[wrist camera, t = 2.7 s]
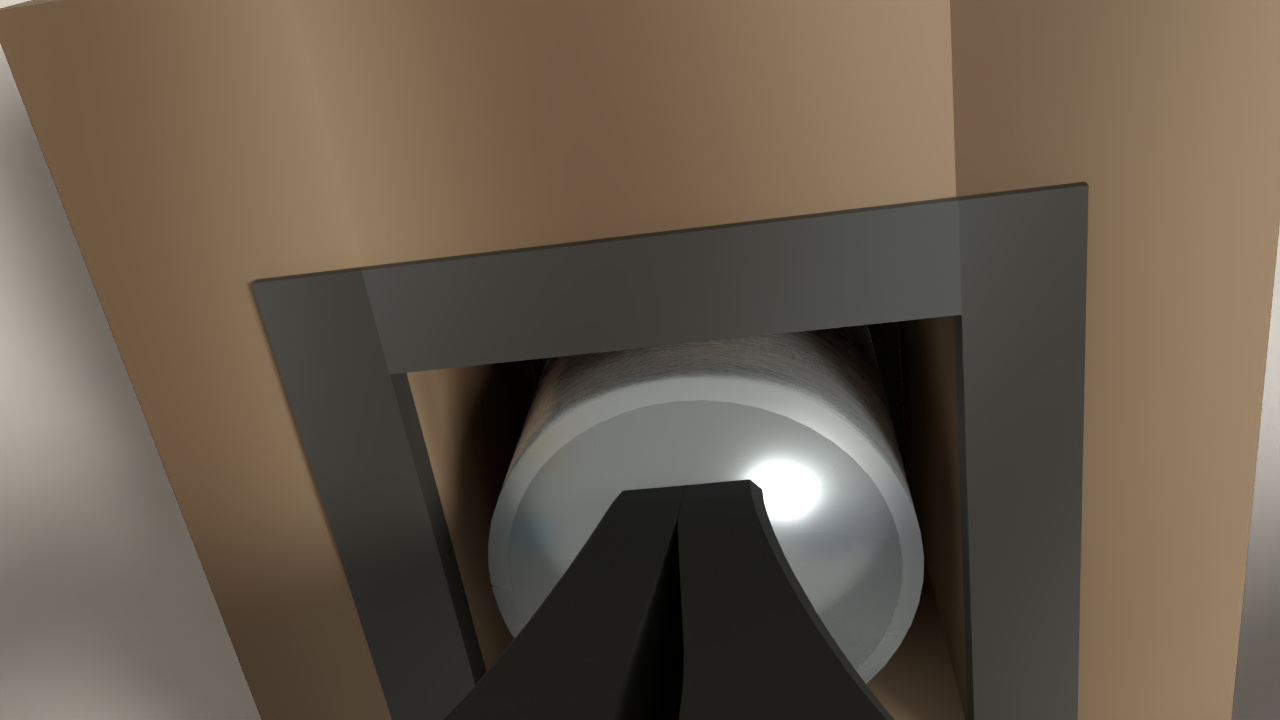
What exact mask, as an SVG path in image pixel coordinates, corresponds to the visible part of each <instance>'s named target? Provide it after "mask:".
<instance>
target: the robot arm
mask: <svg viewBox="0 0 1280 720" xmlns="http://www.w3.org/2000/svg"><path fill="white" fill-rule="evenodd" d="M443 720H894V718H893V717H892V716H891V715H890V714H889V712H888V711H887V710H886V709H885V708H884V706H883V705H882V704H881V703H880V701H879V700H878V699H877V698H876V696H875V695H874V694H873V693H872V691H871V690H870V689H869V687H868V686H867V685H866V683H865V682H864V681H863V679H862V678H861V677H860V675H859V674H858V673H857V671H856V670H855V669H854V667H853V666H852V665H851V663H850V662H849V660H848V659H847V657H846V656H845V654H844V653H843V652H842V650H841V649H840V647H839V646H838V644H837V643H836V642H835V640H834V639H833V637H832V636H831V634H830V633H829V631H828V630H827V628H826V626H825V625H824V623H823V622H822V620H821V619H820V617H819V616H818V614H817V612H816V611H815V609H814V607H813V606H812V604H811V602H810V600H809V599H808V597H807V595H806V593H805V592H804V590H803V588H802V586H801V585H800V583H799V581H798V579H797V578H796V576H795V574H794V573H793V571H792V569H791V567H790V565H789V563H788V561H787V559H786V557H785V555H784V553H783V551H782V548H781V546H780V544H779V542H778V539H777V537H776V535H775V533H774V530H773V528H772V525H771V522H770V520H769V517H768V514H767V511H766V507H765V503H764V496H763V489H762V488H760V487H759V486H758V485H757V484H755V483H754V482H753V481H751V480H750V479H747V480H737V481H726V482H715V483H705V484H693V485H686V486H685V485H682V486H671V487H659V488H648V489H636V490H624V491H622V492H621V493H620V494H619V495H618V497H617V498H616V499H615V500H614V501H613V502H612V504H611V505H610V507H609V508H608V510H607V511H606V513H605V515H604V516H603V518H602V519H601V521H600V522H599V524H598V525H597V527H596V528H595V530H594V531H593V533H592V534H591V536H590V537H589V539H588V540H587V542H586V543H585V545H584V546H583V547H582V549H581V550H580V552H579V553H578V555H577V556H576V558H575V559H574V560H573V562H572V563H571V565H570V566H569V568H568V569H567V570H566V572H565V573H564V575H563V576H562V577H561V579H560V580H559V581H558V583H557V584H556V585H555V587H554V588H553V589H552V591H551V592H550V593H549V595H548V596H547V597H546V599H545V600H544V601H543V603H542V604H541V605H540V607H539V608H538V610H537V611H536V612H535V614H534V615H533V616H532V618H531V619H530V620H529V621H528V623H527V624H526V625H525V626H524V628H523V629H522V630H521V632H520V633H519V634H518V635H517V636H516V637H515V639H514V640H513V641H512V642H511V643H510V645H509V646H508V647H507V648H506V649H505V651H504V652H503V653H502V654H501V655H500V656H499V658H498V659H497V660H496V661H495V662H494V664H493V665H492V666H491V667H490V668H489V669H488V671H487V672H486V673H485V674H484V675H483V677H482V678H481V679H480V680H479V681H478V682H477V684H476V685H475V686H474V687H473V688H472V689H471V690H470V691H469V693H468V694H467V695H466V696H465V697H464V698H463V699H462V700H461V701H460V702H459V703H458V704H457V705H456V707H455V708H454V709H453V710H452V711H451V712H450V713H449V714H448V715H447V716H446V717H445V718H444V719H443Z"/></svg>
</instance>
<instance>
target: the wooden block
mask: <svg viewBox="0 0 1280 720" xmlns="http://www.w3.org/2000/svg"><path fill="white" fill-rule="evenodd" d="M0 43H1V46H2V48H3V51H4V54H5V56H6V59H7V61H8V64H9V67H10V69H11V72H12V74H13V77H14V79H15V82H16V85H17V87H18V90H19V92H20V95H21V98H22V100H23V103H24V105H25V108H26V111H27V113H28V116H29V118H30V121H31V124H32V126H33V129H34V131H35V134H36V136H37V139H38V142H39V144H40V147H41V149H42V152H43V155H44V157H45V160H46V162H47V165H48V168H49V170H50V173H51V175H52V178H53V180H54V183H55V186H56V188H57V191H58V193H59V196H60V199H61V201H62V204H63V206H64V209H65V212H66V214H67V217H68V219H69V222H70V224H71V227H72V230H73V232H74V235H75V237H76V240H77V243H78V245H79V248H80V250H81V253H82V256H83V258H84V261H85V263H86V266H87V269H88V271H89V274H90V276H91V279H92V281H93V284H94V287H95V289H96V292H97V294H98V297H99V300H100V302H101V305H102V307H103V310H104V313H105V315H106V318H107V320H108V323H109V325H110V328H111V331H112V333H113V336H114V338H115V341H116V344H117V346H118V349H119V351H120V354H121V357H122V359H123V362H124V364H125V367H126V370H127V372H128V375H129V377H130V380H131V382H132V385H133V388H134V390H135V393H136V395H137V398H138V401H139V403H140V406H141V408H142V411H143V414H144V416H145V419H146V421H147V424H148V426H149V429H150V432H151V434H152V437H153V439H154V442H155V445H156V447H157V450H158V452H159V455H160V458H161V460H162V463H163V465H164V468H165V470H166V473H167V476H168V478H169V481H170V483H171V486H172V489H173V491H174V494H175V496H176V499H177V502H178V504H179V507H180V509H181V512H182V515H183V517H184V520H185V522H186V525H187V527H188V530H189V533H190V535H191V538H192V540H193V543H194V546H195V548H196V551H197V553H198V556H199V559H200V561H201V564H202V566H203V569H204V571H205V574H206V577H207V579H208V582H209V584H210V587H211V590H212V592H213V595H214V597H215V600H216V603H217V605H218V608H219V610H220V613H221V615H222V618H223V621H224V623H225V626H226V628H227V631H228V634H229V636H230V639H231V641H232V644H233V647H234V649H235V652H236V654H237V657H238V660H239V662H240V665H241V667H242V670H243V672H244V675H245V678H246V680H247V683H248V685H249V688H250V691H251V693H252V696H253V698H254V701H255V704H256V706H257V709H258V711H259V714H260V716H261V719H262V720H443V719H444V718H445V717H446V716H447V715H448V714H449V713H450V712H451V711H452V710H453V709H454V708H455V707H456V705H457V704H458V703H459V702H460V701H461V700H462V699H463V698H464V697H465V696H466V695H467V694H468V693H469V691H470V690H471V689H472V688H473V687H474V686H475V685H476V684H477V682H478V681H479V680H480V679H481V678H482V677H483V675H484V674H485V673H486V672H487V671H488V669H489V668H490V667H491V666H492V665H493V664H494V662H495V661H496V660H497V659H498V658H499V656H500V655H501V654H502V653H503V652H504V651H505V649H506V648H507V647H508V646H509V645H510V643H511V642H512V641H513V640H514V637H513V636H512V634H511V633H510V631H509V629H508V627H507V625H506V623H505V621H504V619H503V617H502V615H501V613H500V611H499V608H498V605H497V602H496V599H495V596H494V593H493V590H492V584H491V579H490V573H489V567H488V541H489V534H490V527H491V521H492V517H493V514H494V511H495V508H496V505H497V501H498V498H499V495H500V492H501V489H502V487H503V484H504V481H505V478H506V475H507V472H508V469H509V466H510V464H511V461H512V458H513V455H514V452H515V449H516V446H517V443H518V441H519V438H520V435H521V432H522V429H523V426H524V423H525V420H526V417H527V415H528V412H529V409H530V406H531V403H532V400H533V397H534V394H535V392H536V389H537V386H538V383H537V378H536V373H535V368H534V364H533V359H542V358H551V357H561V356H571V355H580V354H590V353H599V352H609V351H619V350H628V349H638V348H647V347H657V346H667V345H676V344H686V343H695V342H705V341H715V340H724V339H734V338H743V337H753V336H763V335H772V334H782V333H792V332H801V331H811V330H820V329H830V328H840V327H849V326H859V325H868V324H878V323H888V322H897V321H898V331H899V349H900V366H901V383H902V401H903V418H904V436H905V453H906V471H907V481H908V485H909V489H910V493H911V497H912V500H913V504H914V508H915V512H916V516H917V520H918V524H919V528H920V532H921V538H922V546H923V553H924V573H923V585H922V590H921V595H920V600H919V604H918V607H917V610H916V613H915V615H914V618H913V621H912V624H911V626H910V628H909V630H908V632H907V633H906V635H905V637H904V639H903V641H902V642H901V644H900V646H899V647H898V649H897V650H896V651H895V653H894V654H893V655H892V657H891V658H890V659H889V661H888V662H887V663H886V665H885V666H884V667H883V668H882V669H881V670H880V671H879V672H878V673H877V674H876V675H875V676H874V677H873V678H872V679H871V680H870V681H869V682H868V683H867V684H866V685H867V686H868V687H869V689H870V690H871V691H872V693H873V694H874V695H875V696H876V698H877V699H878V700H879V701H880V703H881V704H882V705H883V706H884V708H885V709H886V710H887V711H888V712H889V714H890V715H891V716H892V717H893V718H894V720H1231V718H1232V708H1233V697H1234V687H1235V677H1236V667H1237V656H1238V646H1239V636H1240V626H1241V615H1242V605H1243V595H1244V585H1245V574H1246V564H1247V554H1248V544H1249V533H1250V523H1251V513H1252V503H1253V492H1254V482H1255V472H1256V461H1257V451H1258V441H1259V431H1260V420H1261V410H1262V400H1263V390H1264V379H1265V369H1266V359H1267V349H1268V338H1269V328H1270V318H1271V308H1272V297H1273V287H1274V277H1275V267H1276V256H1277V246H1278V236H1279V226H1280V0H31V1H27V2H23V3H20V4H16V5H12V6H8V7H5V8H1V9H0Z"/></svg>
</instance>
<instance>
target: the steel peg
mask: <svg viewBox="0 0 1280 720" xmlns="http://www.w3.org/2000/svg"><path fill="white" fill-rule="evenodd" d="M747 479H750V480H751V481H753V482H754V483H755V484H757V485H758V486H759V487H760V488H762V489H763V496H764V503H765V507H766V511H767V514H768V517H769V520H770V522H771V525H772V528H773V530H774V533H775V535H776V537H777V539H778V542H779V544H780V546H781V548H782V551H783V553H784V555H785V557H786V559H787V561H788V563H789V565H790V567H791V569H792V571H793V573H794V574H795V576H796V578H797V579H798V581H799V583H800V585H801V586H802V588H803V590H804V592H805V593H806V595H807V597H808V599H809V600H810V602H811V604H812V606H813V607H814V609H815V611H816V612H817V614H818V616H819V617H820V619H821V620H822V622H823V623H824V625H825V626H826V628H827V630H828V631H829V633H830V634H831V636H832V637H833V639H834V640H835V642H836V643H837V644H838V646H839V647H840V649H841V650H842V652H843V653H844V654H845V656H846V657H847V659H848V660H849V662H850V663H851V665H852V666H853V667H854V669H855V670H856V671H857V673H858V674H859V675H860V677H861V678H862V679H863V681H864V682H865V683H866V684H867V683H868V682H869V681H870V680H871V679H872V678H873V677H874V676H875V675H876V674H877V673H878V672H879V671H880V670H881V669H882V668H883V667H884V666H885V665H886V663H887V662H888V661H889V659H890V658H891V657H892V655H893V654H894V653H895V651H896V650H897V649H898V647H899V646H900V644H901V642H902V641H903V639H904V637H905V635H906V633H907V632H908V630H909V628H910V626H911V624H912V621H913V618H914V615H915V613H916V610H917V607H918V604H919V600H920V595H921V590H922V585H923V573H924V553H923V546H922V538H921V532H920V528H919V524H918V520H917V516H916V512H915V508H914V504H913V500H912V497H911V493H910V489H909V485H908V481H907V477H906V473H905V469H904V465H903V461H902V457H901V453H900V450H899V446H898V442H897V438H896V434H895V430H894V426H893V422H892V418H891V414H890V410H889V406H888V402H887V399H886V395H885V391H884V387H883V383H882V379H881V375H880V371H879V367H878V363H877V359H876V355H875V352H874V348H873V344H872V340H871V336H870V332H869V329H868V325H859V326H849V327H840V328H830V329H820V330H811V331H801V332H792V333H782V334H772V335H763V336H753V337H743V338H734V339H724V340H715V341H705V342H695V343H686V344H676V345H667V346H657V347H647V348H638V349H628V350H619V351H609V352H599V353H590V354H580V355H571V356H561V357H551V358H547V360H546V363H545V366H544V369H543V371H542V374H541V377H540V380H539V383H538V386H537V389H536V392H535V394H534V397H533V400H532V403H531V406H530V409H529V412H528V415H527V417H526V420H525V423H524V426H523V429H522V432H521V435H520V438H519V441H518V443H517V446H516V449H515V452H514V455H513V458H512V461H511V464H510V466H509V469H508V472H507V475H506V478H505V481H504V484H503V487H502V489H501V492H500V495H499V498H498V501H497V505H496V508H495V511H494V514H493V517H492V521H491V527H490V534H489V541H488V567H489V573H490V579H491V584H492V590H493V593H494V596H495V599H496V602H497V605H498V608H499V611H500V613H501V615H502V617H503V619H504V621H505V623H506V625H507V627H508V629H509V631H510V633H511V634H512V636H513V637H514V639H515V637H516V636H517V635H518V634H519V633H520V632H521V630H522V629H523V628H524V626H525V625H526V624H527V623H528V621H529V620H530V619H531V618H532V616H533V615H534V614H535V612H536V611H537V610H538V608H539V607H540V605H541V604H542V603H543V601H544V600H545V599H546V597H547V596H548V595H549V593H550V592H551V591H552V589H553V588H554V587H555V585H556V584H557V583H558V581H559V580H560V579H561V577H562V576H563V575H564V573H565V572H566V570H567V569H568V568H569V566H570V565H571V563H572V562H573V560H574V559H575V558H576V556H577V555H578V553H579V552H580V550H581V549H582V547H583V546H584V545H585V543H586V542H587V540H588V539H589V537H590V536H591V534H592V533H593V531H594V530H595V528H596V527H597V525H598V524H599V522H600V521H601V519H602V518H603V516H604V515H605V513H606V511H607V510H608V508H609V507H610V505H611V504H612V502H613V501H614V500H615V499H616V498H617V497H618V495H619V494H620V493H621V492H622V491H624V490H636V489H648V488H659V487H671V486H682V485H685V486H686V485H693V484H705V483H715V482H726V481H737V480H747Z"/></svg>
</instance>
